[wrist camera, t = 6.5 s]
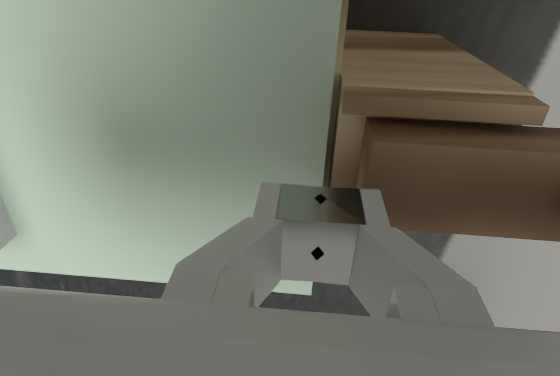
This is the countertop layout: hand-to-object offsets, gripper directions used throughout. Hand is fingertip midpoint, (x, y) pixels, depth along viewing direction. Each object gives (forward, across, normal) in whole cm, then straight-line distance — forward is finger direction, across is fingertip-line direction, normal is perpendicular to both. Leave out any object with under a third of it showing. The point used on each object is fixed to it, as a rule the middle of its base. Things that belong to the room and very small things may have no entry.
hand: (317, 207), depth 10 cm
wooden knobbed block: (+4, -6, 0) cm, 7 cm away
